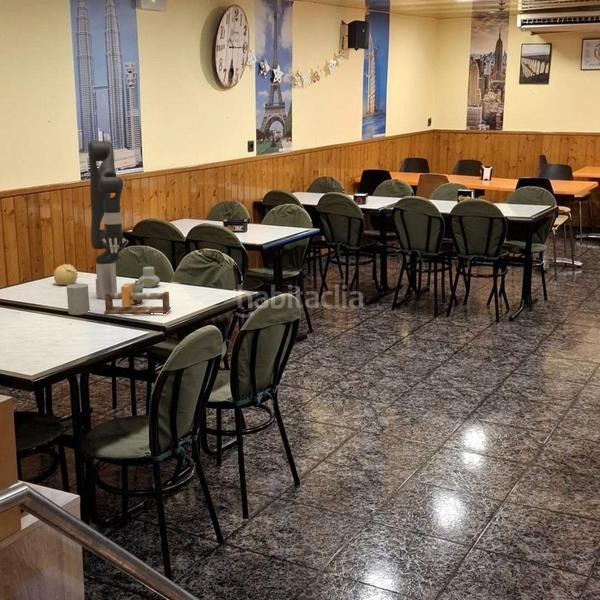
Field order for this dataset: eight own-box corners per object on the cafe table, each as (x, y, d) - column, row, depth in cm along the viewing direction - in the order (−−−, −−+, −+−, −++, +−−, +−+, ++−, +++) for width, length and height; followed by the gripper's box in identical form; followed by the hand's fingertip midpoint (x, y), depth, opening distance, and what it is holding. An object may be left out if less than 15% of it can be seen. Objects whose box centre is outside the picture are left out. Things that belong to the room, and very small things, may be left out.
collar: (122, 306, 385) (121, 287, 383) (126, 302, 393) (125, 283, 391) (128, 306, 385) (127, 287, 383) (133, 302, 393) (132, 283, 390)
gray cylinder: (63, 313, 388) (62, 287, 385) (76, 309, 397) (74, 282, 394) (82, 315, 385) (80, 288, 382) (94, 310, 393) (92, 284, 391)
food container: (139, 306, 400) (138, 285, 397) (126, 306, 401) (125, 285, 398) (148, 301, 411) (147, 280, 409) (136, 300, 413) (135, 280, 410)
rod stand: (104, 314, 385) (103, 295, 383) (110, 309, 395) (109, 290, 393) (166, 315, 384) (165, 295, 382) (170, 309, 393) (169, 290, 391)
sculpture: (78, 285, 446) (77, 265, 444) (54, 287, 443) (52, 266, 441) (78, 281, 457) (76, 261, 455) (54, 283, 454) (53, 262, 452)
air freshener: (161, 284, 447) (160, 265, 445) (158, 288, 439) (157, 269, 437) (140, 285, 447) (139, 266, 445) (137, 288, 439) (136, 269, 437)
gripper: (129, 221, 384) (132, 259, 388) (100, 221, 385) (103, 259, 388) (125, 223, 377) (127, 262, 380) (95, 223, 377) (98, 262, 381)
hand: (115, 260), depth 384 cm, fingers closed
